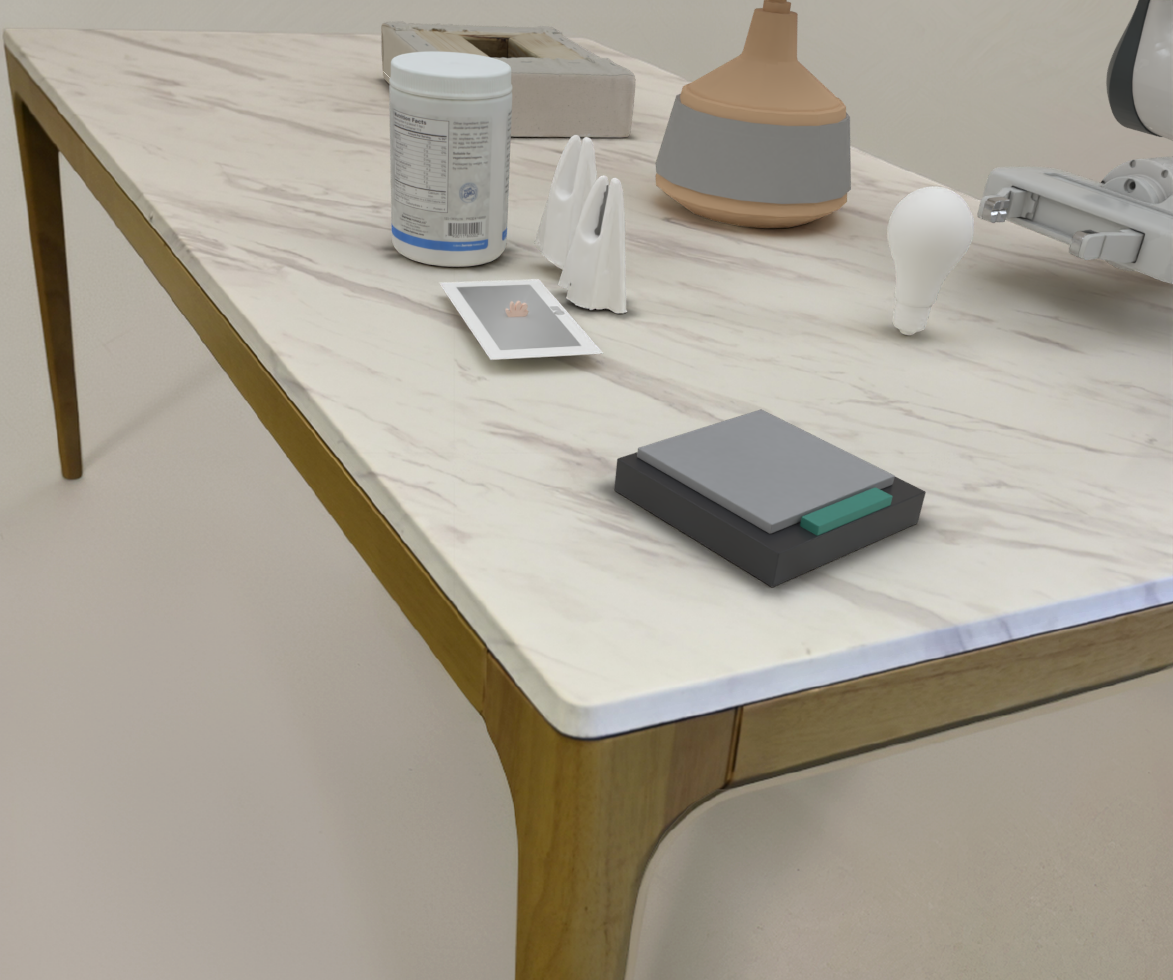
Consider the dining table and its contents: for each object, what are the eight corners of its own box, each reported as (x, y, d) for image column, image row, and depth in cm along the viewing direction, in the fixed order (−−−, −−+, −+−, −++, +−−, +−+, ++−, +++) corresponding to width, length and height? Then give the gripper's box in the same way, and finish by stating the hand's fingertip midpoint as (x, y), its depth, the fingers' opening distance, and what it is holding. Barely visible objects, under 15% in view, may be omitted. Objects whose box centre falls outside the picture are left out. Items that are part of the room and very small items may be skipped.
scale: (918, 523, 68) (929, 481, 66) (772, 587, 61) (780, 542, 59) (759, 441, 75) (766, 402, 74) (613, 490, 68) (617, 448, 67)
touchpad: (490, 375, 80) (491, 343, 79) (438, 296, 92) (438, 268, 91) (602, 368, 83) (604, 338, 82) (538, 292, 95) (539, 265, 93)
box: (377, 80, 159) (437, 138, 134) (377, 15, 155) (439, 62, 130) (546, 85, 167) (633, 141, 142) (551, 23, 163) (640, 69, 138)
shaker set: (530, 264, 100) (538, 123, 94) (579, 262, 102) (589, 123, 96) (577, 316, 91) (589, 163, 85) (629, 313, 92) (644, 163, 86)
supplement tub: (432, 227, 107) (433, 45, 99) (527, 249, 104) (537, 63, 96) (367, 253, 99) (363, 60, 91) (467, 279, 96) (472, 80, 88)
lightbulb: (897, 352, 90) (931, 201, 84) (850, 323, 94) (879, 177, 88) (963, 345, 92) (1001, 198, 86) (915, 317, 97) (947, 175, 91)
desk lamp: (718, 171, 132) (772, -238, 112) (881, 210, 123) (970, -226, 104) (604, 207, 116) (644, -260, 97) (782, 255, 108) (864, -247, 88)
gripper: (1060, 143, 106) (944, 151, 100) (1270, 210, 92) (1151, 224, 85) (1039, 216, 110) (926, 228, 103) (1239, 291, 95) (1122, 311, 89)
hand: (1030, 227), depth 94 cm, fingers open, 8 cm apart
